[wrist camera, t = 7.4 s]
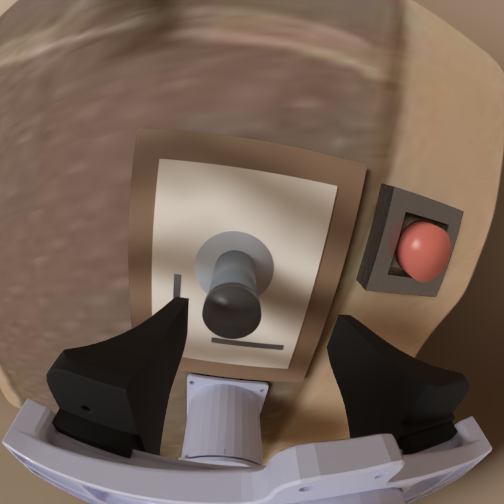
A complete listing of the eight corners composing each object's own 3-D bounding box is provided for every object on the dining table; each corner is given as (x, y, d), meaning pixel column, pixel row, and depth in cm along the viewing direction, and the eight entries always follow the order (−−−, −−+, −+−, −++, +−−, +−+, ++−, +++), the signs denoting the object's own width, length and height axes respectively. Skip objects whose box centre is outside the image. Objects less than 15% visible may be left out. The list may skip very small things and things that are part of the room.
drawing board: (300, 375, 25) (302, 384, 23) (138, 354, 23) (134, 362, 22) (361, 164, 18) (368, 165, 17) (142, 129, 17) (136, 128, 15)
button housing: (424, 287, 22) (436, 297, 20) (356, 279, 21) (365, 290, 19) (449, 206, 19) (463, 211, 17) (381, 183, 18) (394, 187, 17)
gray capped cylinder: (252, 290, 20) (256, 341, 14) (211, 285, 19) (200, 334, 14) (259, 252, 19) (266, 293, 13) (215, 245, 18) (204, 285, 13)
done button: (427, 274, 20) (439, 284, 18) (388, 269, 19) (400, 279, 17) (442, 225, 18) (456, 232, 16) (404, 214, 18) (418, 221, 16)
